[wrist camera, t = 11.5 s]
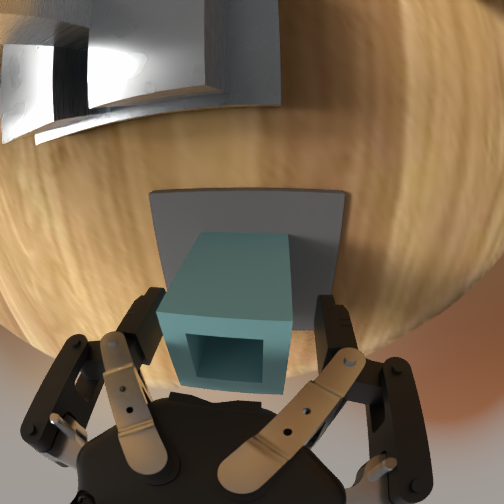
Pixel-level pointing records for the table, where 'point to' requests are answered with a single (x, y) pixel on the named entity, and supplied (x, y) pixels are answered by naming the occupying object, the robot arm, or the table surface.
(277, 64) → the vise
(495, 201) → the table surface
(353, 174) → the table surface
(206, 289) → the sleeve
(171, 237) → the mat
